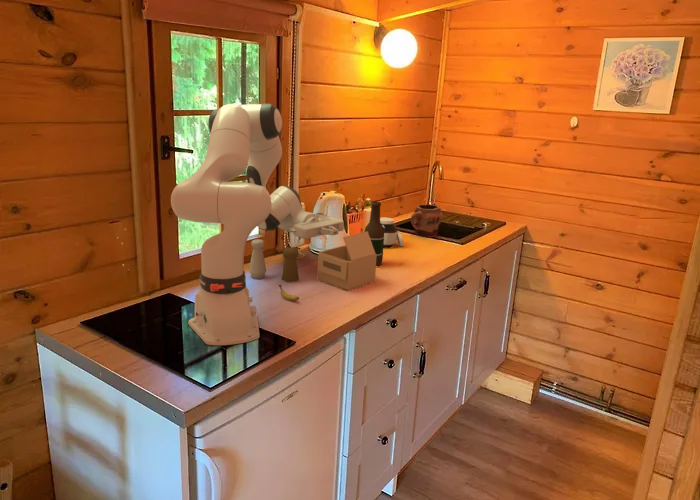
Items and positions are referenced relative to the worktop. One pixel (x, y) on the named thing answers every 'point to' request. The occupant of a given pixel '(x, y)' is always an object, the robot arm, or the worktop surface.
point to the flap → (359, 245)
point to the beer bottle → (376, 232)
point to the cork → (290, 265)
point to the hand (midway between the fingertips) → (335, 232)
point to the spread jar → (390, 233)
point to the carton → (345, 268)
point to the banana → (288, 295)
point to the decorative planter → (426, 220)
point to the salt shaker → (257, 260)
